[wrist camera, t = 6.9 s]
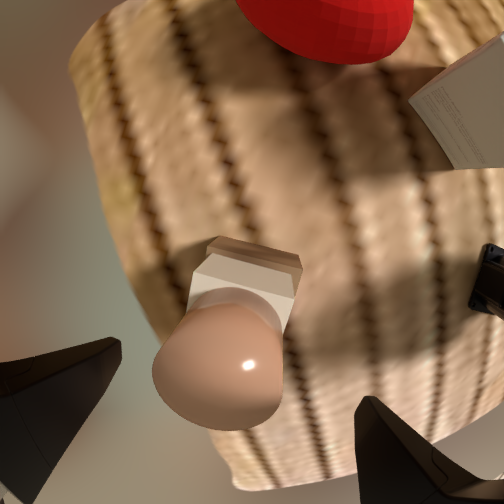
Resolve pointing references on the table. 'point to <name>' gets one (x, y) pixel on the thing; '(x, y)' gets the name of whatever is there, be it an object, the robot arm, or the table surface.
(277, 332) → the brown rounded lump
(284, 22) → the tomato
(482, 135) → the supplement box
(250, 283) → the cream block
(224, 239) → the walnut base block
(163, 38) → the table surface
